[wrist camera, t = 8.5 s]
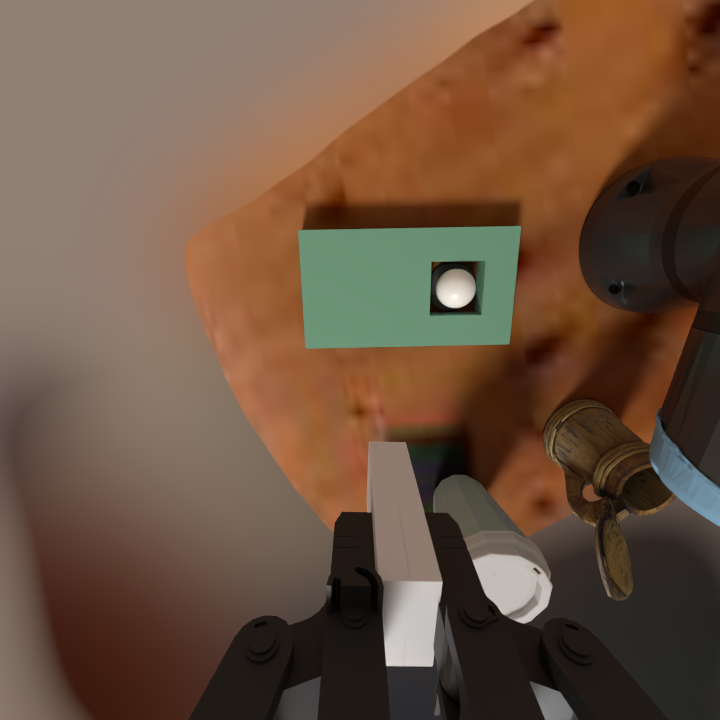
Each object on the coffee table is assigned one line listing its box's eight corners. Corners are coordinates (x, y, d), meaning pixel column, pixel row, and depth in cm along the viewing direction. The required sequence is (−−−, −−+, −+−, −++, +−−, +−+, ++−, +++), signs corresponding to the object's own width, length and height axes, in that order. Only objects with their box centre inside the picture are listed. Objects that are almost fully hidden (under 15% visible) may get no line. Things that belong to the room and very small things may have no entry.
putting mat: (510, 227, 38) (521, 225, 35) (500, 339, 41) (509, 344, 39) (301, 231, 38) (298, 230, 35) (308, 343, 41) (305, 348, 39)
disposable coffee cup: (451, 540, 49) (491, 659, 34) (397, 493, 47) (416, 598, 32) (513, 493, 47) (583, 598, 32) (460, 441, 45) (509, 528, 30)
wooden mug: (497, 447, 45) (586, 565, 28) (594, 385, 43) (756, 472, 26) (532, 495, 47) (635, 633, 30) (627, 438, 45) (797, 552, 28)
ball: (485, 268, 36) (460, 269, 34) (482, 308, 37) (457, 311, 35) (453, 267, 39) (428, 268, 37) (451, 304, 40) (427, 307, 38)
